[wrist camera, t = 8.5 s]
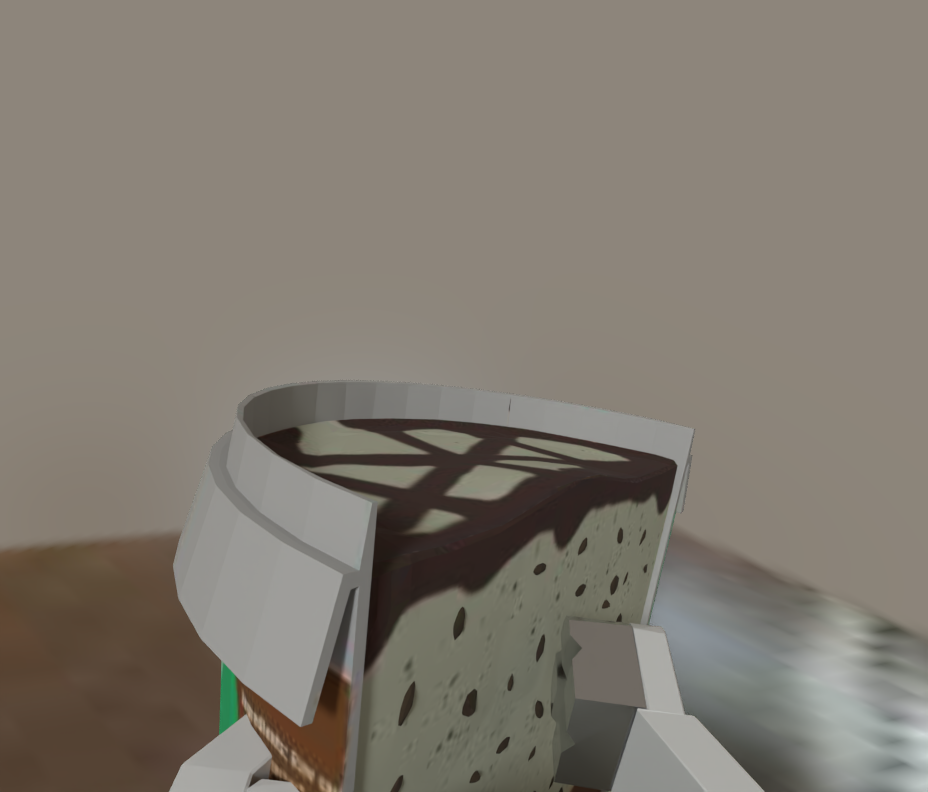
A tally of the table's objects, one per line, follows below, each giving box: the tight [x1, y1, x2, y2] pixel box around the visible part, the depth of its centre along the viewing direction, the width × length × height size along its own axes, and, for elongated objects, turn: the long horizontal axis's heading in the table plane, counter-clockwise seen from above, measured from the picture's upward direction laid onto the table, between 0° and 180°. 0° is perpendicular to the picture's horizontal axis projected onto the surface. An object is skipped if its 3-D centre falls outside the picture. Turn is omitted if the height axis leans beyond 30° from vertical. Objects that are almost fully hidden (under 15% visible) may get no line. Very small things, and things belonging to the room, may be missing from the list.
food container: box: [173, 380, 695, 792], centre depth 14 cm, size 12×6×10 cm, turn 141°
